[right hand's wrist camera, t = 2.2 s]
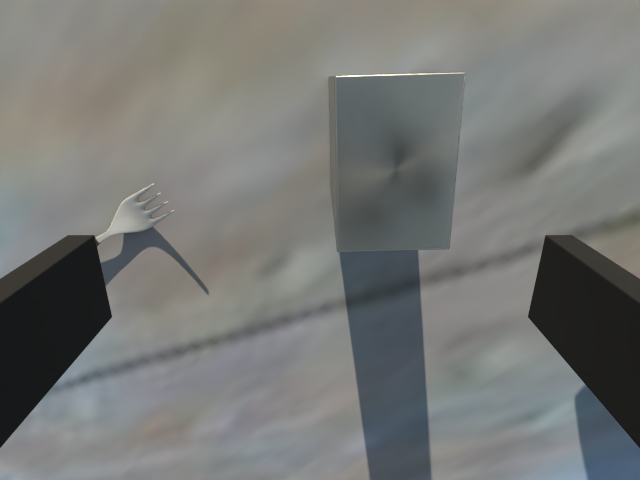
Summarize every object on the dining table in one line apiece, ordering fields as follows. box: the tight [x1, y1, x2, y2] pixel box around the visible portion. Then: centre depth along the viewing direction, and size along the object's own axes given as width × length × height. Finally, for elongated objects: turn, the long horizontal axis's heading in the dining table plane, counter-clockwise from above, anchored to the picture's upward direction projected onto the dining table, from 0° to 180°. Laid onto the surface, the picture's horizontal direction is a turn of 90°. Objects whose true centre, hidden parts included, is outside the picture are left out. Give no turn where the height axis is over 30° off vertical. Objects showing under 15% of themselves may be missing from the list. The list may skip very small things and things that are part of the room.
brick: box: [329, 72, 465, 252], centre depth 23 cm, size 8×5×12 cm
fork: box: [95, 184, 175, 246], centre depth 30 cm, size 3×16×2 cm, turn 122°
